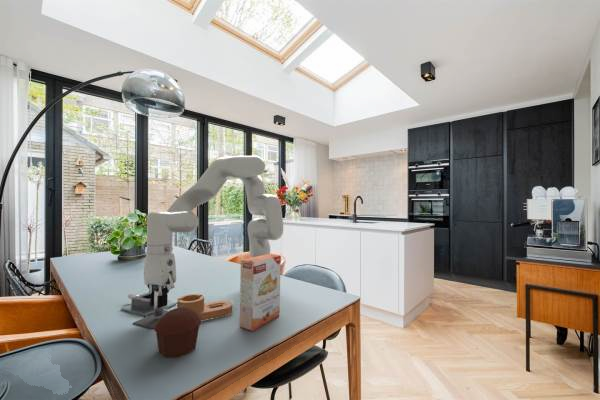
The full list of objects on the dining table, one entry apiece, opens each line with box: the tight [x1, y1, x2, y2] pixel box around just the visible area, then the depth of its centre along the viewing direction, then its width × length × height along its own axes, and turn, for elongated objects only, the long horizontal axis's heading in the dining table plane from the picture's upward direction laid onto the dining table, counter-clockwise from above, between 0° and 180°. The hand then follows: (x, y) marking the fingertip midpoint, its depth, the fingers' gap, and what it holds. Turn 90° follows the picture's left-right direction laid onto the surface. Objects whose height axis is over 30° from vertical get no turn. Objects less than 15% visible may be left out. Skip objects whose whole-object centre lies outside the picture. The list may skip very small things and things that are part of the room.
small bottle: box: [153, 285, 165, 317], centre depth 87 cm, size 3×3×10 cm
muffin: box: [153, 307, 203, 359], centre depth 70 cm, size 12×11×10 cm
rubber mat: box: [132, 310, 170, 330], centre depth 87 cm, size 9×11×1 cm
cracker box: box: [238, 253, 282, 332], centre depth 87 cm, size 14×6×21 cm, turn 148°
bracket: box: [176, 293, 233, 321], centre depth 91 cm, size 18×8×7 cm, turn 123°
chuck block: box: [120, 292, 178, 317], centre depth 98 cm, size 18×12×4 cm, turn 66°
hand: (158, 305), depth 87 cm, fingers closed on small bottle, 2 cm apart
